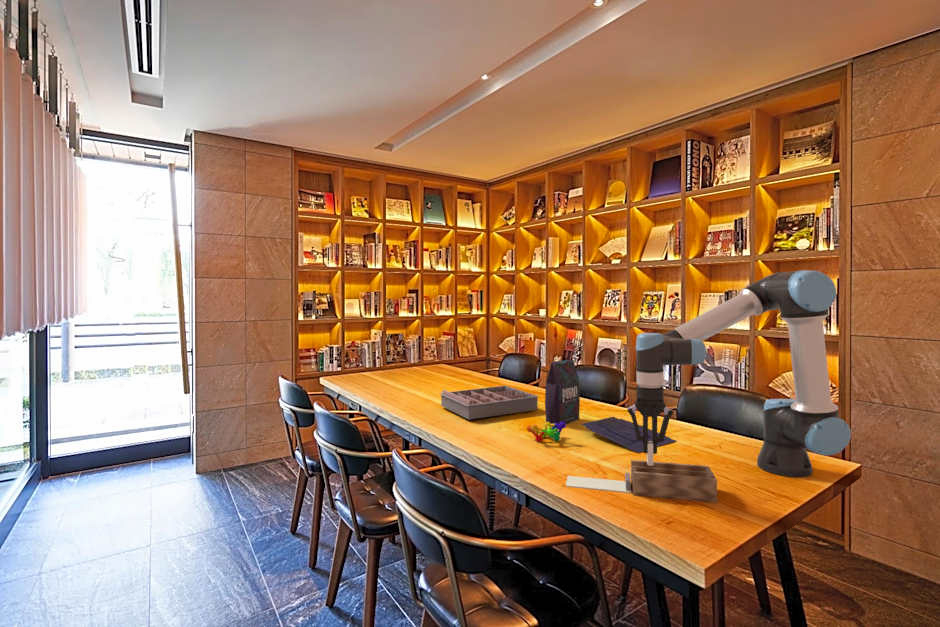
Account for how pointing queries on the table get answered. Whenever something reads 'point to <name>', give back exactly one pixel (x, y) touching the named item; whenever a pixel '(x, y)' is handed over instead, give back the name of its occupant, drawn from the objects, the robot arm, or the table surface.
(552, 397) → the black coffee bag
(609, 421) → the dark blue flat slab
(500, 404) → the organizer tray
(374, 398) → the table surface
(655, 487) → the box
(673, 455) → the table surface
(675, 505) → the table surface
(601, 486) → the lid
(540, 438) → the decorative model
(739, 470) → the table surface
